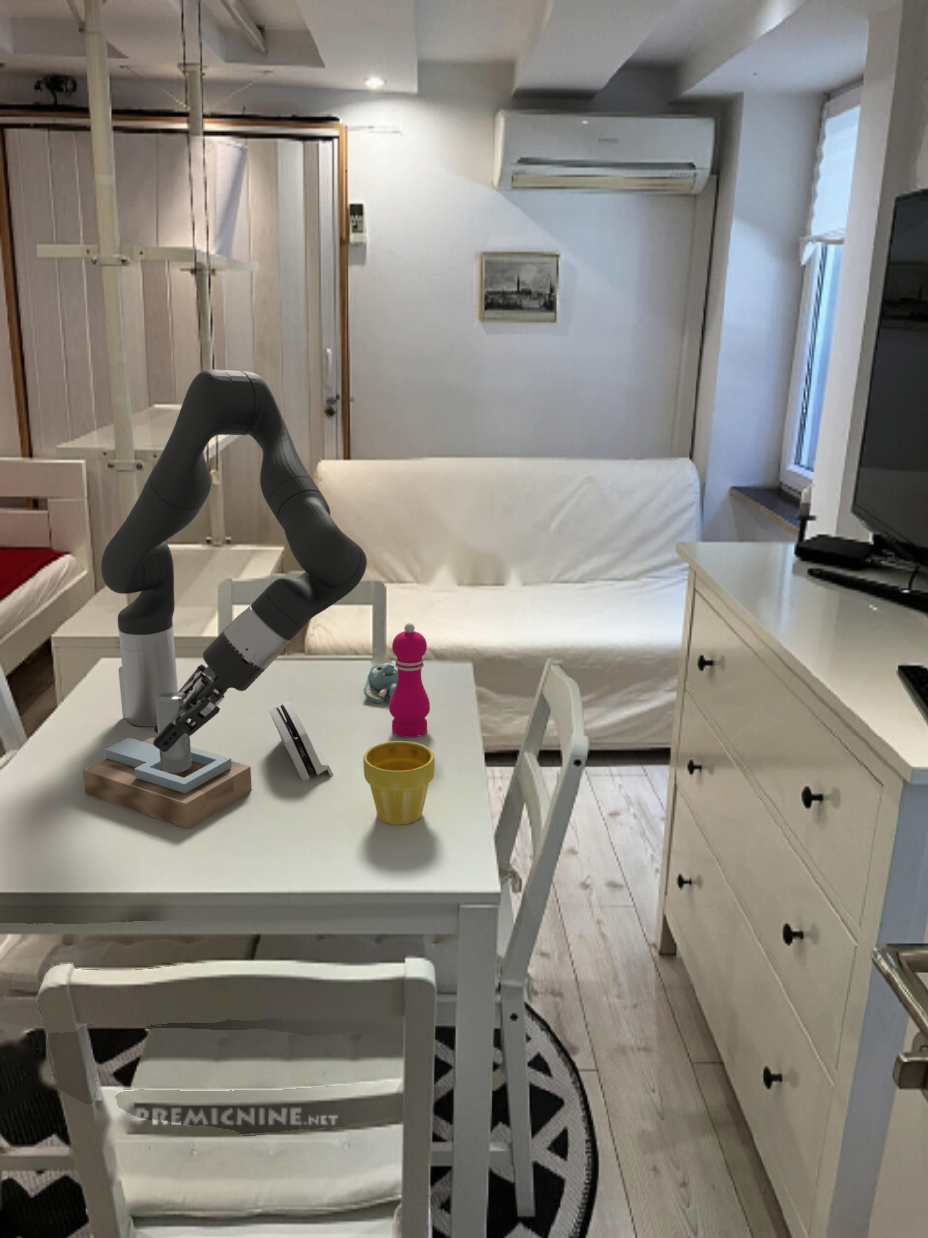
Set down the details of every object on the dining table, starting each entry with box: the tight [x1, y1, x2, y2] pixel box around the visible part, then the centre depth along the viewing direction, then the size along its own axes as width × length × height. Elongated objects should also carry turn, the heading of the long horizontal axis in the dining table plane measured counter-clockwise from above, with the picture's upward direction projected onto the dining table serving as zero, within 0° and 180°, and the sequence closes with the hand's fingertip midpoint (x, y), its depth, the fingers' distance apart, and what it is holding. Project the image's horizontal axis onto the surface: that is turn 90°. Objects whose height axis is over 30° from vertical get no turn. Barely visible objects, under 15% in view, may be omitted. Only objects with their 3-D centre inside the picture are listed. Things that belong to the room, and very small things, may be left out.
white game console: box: [268, 701, 334, 781], centre depth 166 cm, size 17×5×10 cm, turn 21°
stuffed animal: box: [363, 662, 398, 704], centre depth 193 cm, size 11×7×12 cm
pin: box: [155, 691, 192, 773], centre depth 134 cm, size 4×4×10 cm
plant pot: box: [362, 740, 436, 826], centre depth 148 cm, size 10×10×10 cm
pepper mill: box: [388, 622, 431, 738], centre depth 176 cm, size 7×7×20 cm
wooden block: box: [82, 737, 253, 830], centre depth 155 cm, size 21×14×4 cm, turn 61°
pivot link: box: [104, 737, 232, 793], centre depth 154 cm, size 19×10×2 cm, turn 61°
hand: (159, 740), depth 134 cm, fingers closed on pin, 4 cm apart
